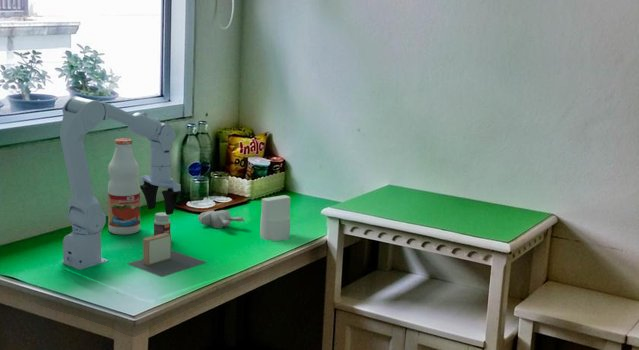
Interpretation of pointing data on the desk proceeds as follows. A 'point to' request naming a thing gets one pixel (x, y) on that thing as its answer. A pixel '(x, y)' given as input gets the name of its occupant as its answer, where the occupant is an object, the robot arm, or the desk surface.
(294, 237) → the desk surface
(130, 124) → the robot arm
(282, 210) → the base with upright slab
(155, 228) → the pill bottle
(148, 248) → the block
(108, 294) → the desk surface
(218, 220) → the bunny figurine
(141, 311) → the desk surface
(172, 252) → the mat
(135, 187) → the fruit juice
